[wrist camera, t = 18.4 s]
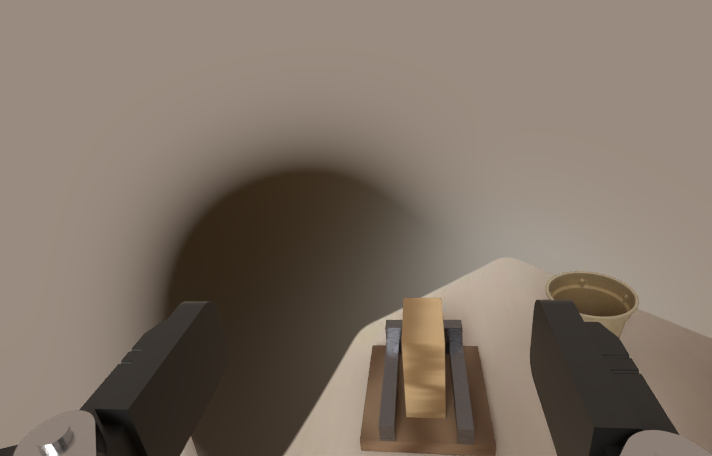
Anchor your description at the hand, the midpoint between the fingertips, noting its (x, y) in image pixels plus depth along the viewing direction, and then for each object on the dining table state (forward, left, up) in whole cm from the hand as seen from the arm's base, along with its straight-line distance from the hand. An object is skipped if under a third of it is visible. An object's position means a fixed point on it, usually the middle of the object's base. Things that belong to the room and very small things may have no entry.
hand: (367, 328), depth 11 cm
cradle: (-1, -28, -32) cm, 43 cm away
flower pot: (-20, -36, -32) cm, 52 cm away
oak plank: (-1, -28, -30) cm, 41 cm away
